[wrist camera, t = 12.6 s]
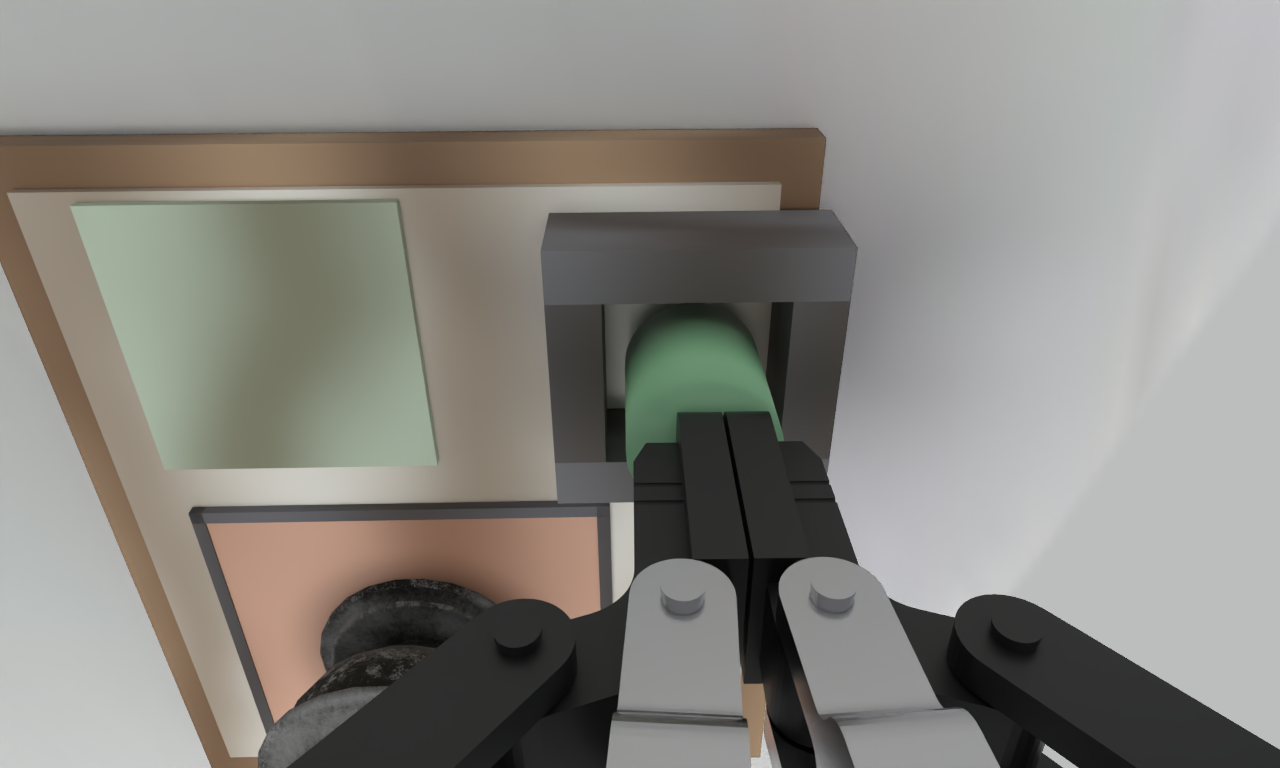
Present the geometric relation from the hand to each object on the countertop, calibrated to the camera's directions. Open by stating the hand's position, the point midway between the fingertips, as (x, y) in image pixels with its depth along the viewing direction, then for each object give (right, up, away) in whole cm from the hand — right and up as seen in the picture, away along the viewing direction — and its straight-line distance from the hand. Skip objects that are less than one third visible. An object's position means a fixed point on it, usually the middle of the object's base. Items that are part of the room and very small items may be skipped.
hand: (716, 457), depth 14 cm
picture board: (-6, -2, +7) cm, 9 cm away
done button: (0, +2, +2) cm, 3 cm away
